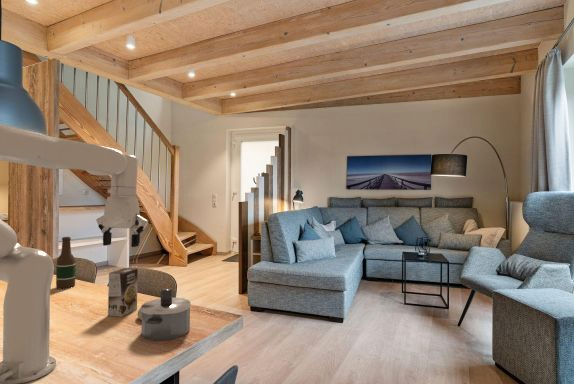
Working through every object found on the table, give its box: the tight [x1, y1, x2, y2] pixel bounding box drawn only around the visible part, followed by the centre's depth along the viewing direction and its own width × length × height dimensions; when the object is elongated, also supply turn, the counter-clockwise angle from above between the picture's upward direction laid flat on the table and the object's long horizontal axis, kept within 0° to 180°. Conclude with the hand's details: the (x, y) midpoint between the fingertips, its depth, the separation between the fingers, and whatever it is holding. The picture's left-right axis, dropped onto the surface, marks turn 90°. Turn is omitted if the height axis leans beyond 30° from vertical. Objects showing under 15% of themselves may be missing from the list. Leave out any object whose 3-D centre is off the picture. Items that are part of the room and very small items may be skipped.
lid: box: [140, 287, 191, 315], centre depth 115 cm, size 16×16×7 cm
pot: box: [141, 306, 191, 342], centre depth 115 cm, size 19×15×8 cm
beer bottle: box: [55, 236, 76, 289], centre depth 164 cm, size 8×8×24 cm
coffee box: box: [107, 267, 139, 318], centre depth 132 cm, size 9×6×16 cm
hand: (120, 245), depth 110 cm, fingers open, 9 cm apart
